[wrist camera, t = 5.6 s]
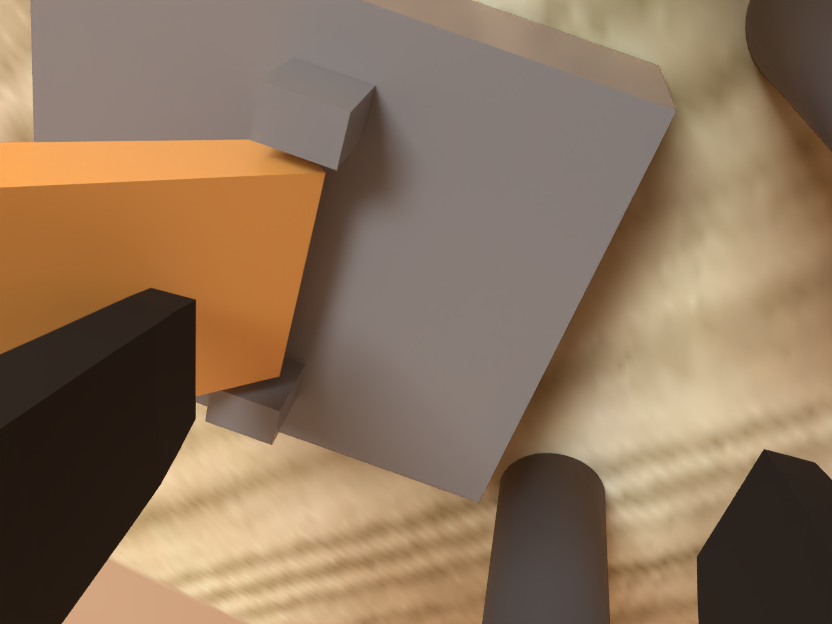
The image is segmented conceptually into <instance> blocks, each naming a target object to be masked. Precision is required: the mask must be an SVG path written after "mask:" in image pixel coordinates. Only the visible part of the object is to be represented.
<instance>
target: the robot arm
mask: <svg viewBox="0 0 832 624" xmlns="http://www.w3.org/2000/svg"><path fill="white" fill-rule="evenodd" d="M195 419H196V299H192V298H188V297H185V296H181V295H177V294H173V293H169V292H166V291H162V290H158V289H154V288H149V289H146V290H144V291H141V292H139V293H136V294H134V295H131V296H129V297H127V298H124V299H122V300H120V301H118V302H115V303H113V304H111V305H109V306H106V307H104V308H102V309H100V310H98V311H95V312H93V313H91V314H89V315H87V316H84V317H82V318H80V319H78V320H76V321H73V322H71V323H69V324H67V325H65V326H63V327H60V328H58V329H56V330H54V331H51V332H49V333H47V334H45V335H42V336H40V337H38V338H36V339H33V340H31V341H29V342H27V343H24V344H22V345H20V346H18V347H15V348H13V349H11V350H9V351H6V352H4V353H2V354H0V624H62V622H63V621H64V620H65V618H66V617H67V616H68V614H69V613H70V611H71V610H72V609H73V607H74V606H75V604H76V603H77V602H78V600H79V599H80V597H81V596H82V595H83V593H84V592H85V590H86V589H87V588H88V586H89V585H90V583H91V582H92V580H93V579H94V578H95V576H96V575H97V574H98V572H99V571H100V569H101V568H102V567H103V565H104V564H105V562H106V561H107V560H108V558H109V557H110V555H111V554H112V553H113V551H114V550H115V549H116V547H117V546H118V544H119V543H120V542H121V540H122V539H123V537H124V536H125V535H126V533H127V532H128V530H129V529H130V527H131V526H132V525H133V523H134V522H135V520H136V519H137V518H138V516H139V515H140V513H141V512H142V510H143V509H144V508H145V506H146V505H147V503H148V502H149V500H150V499H151V498H152V496H153V495H154V493H155V492H156V490H157V489H158V487H159V486H160V485H161V483H162V481H163V479H164V477H165V475H166V474H167V472H168V470H169V468H170V466H171V465H172V463H173V461H174V459H175V457H176V456H177V454H178V452H179V450H180V448H181V446H182V444H183V442H184V440H185V438H186V436H187V434H188V432H189V431H190V429H191V427H192V425H193V423H194V421H195ZM697 590H698V618H699V624H832V480H831V479H830V477H829V476H828V475H827V474H826V473H825V472H824V471H823V470H822V469H821V468H820V467H819V466H818V465H817V464H816V463H814V462H811V461H807V460H803V459H799V458H796V457H792V456H788V455H784V454H780V453H777V452H773V451H769V450H765V449H764V450H763V452H762V453H761V455H760V456H759V458H758V460H757V461H756V463H755V464H754V466H753V468H752V469H751V471H750V473H749V474H748V476H747V477H746V479H745V481H744V482H743V484H742V485H741V487H740V489H739V490H738V492H737V493H736V495H735V497H734V498H733V500H732V501H731V503H730V505H729V506H728V508H727V509H726V511H725V513H724V514H723V516H722V518H721V519H720V521H719V522H718V524H717V526H716V527H715V529H714V530H713V532H712V534H711V535H710V537H709V538H708V540H707V542H706V543H705V545H704V546H703V548H702V550H701V551H700V553H699V554H698V556H697Z"/></svg>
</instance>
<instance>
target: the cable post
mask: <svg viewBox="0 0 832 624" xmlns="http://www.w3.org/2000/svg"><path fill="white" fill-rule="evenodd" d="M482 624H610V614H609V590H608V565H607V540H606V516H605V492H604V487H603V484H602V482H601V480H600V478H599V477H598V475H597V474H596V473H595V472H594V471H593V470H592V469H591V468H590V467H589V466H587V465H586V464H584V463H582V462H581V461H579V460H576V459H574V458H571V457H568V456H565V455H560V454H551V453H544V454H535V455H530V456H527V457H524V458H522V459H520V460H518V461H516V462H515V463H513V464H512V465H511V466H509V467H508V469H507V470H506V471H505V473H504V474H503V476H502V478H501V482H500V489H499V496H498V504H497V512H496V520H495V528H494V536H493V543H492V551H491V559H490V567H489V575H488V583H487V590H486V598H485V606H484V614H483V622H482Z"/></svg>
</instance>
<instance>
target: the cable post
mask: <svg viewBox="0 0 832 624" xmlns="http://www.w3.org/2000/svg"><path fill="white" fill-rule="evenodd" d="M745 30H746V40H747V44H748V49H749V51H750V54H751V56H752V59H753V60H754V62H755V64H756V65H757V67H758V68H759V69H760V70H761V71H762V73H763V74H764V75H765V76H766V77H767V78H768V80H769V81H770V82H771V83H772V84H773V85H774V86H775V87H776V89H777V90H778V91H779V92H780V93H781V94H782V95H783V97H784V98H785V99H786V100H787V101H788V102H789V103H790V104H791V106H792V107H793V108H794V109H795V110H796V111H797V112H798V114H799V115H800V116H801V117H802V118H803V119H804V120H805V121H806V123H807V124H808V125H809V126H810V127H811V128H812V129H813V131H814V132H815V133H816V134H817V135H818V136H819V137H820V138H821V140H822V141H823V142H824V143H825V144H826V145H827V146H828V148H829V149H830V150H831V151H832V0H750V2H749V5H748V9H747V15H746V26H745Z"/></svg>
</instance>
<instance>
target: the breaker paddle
mask: <svg viewBox="0 0 832 624" xmlns="http://www.w3.org/2000/svg"><path fill="white" fill-rule="evenodd" d="M325 174H326V172H325V171H324V170H323V169H322V168H321V167H320V166H319V165H318V164H317V163H314V162H311V161H308V160H306V159H303V158H300V157H297V156H294V155H291V154H289V153H286V152H283V151H280V150H277V149H274V148H272V147H269V146H266V145H263V144H260V143H257V142H255V141H252V140H171V141H90V142H9V143H0V354H2V353H4V352H6V351H9V350H11V349H13V348H15V347H18V346H20V345H22V344H24V343H27V342H29V341H31V340H33V339H36V338H38V337H40V336H42V335H45V334H47V333H49V332H51V331H54V330H56V329H58V328H60V327H63V326H65V325H67V324H69V323H71V322H73V321H76V320H78V319H80V318H82V317H84V316H87V315H89V314H91V313H93V312H95V311H98V310H100V309H102V308H104V307H106V306H109V305H111V304H113V303H115V302H118V301H120V300H122V299H124V298H127V297H129V296H131V295H134V294H136V293H139V292H141V291H144V290H146V289H149V288H154V289H158V290H162V291H166V292H169V293H173V294H177V295H181V296H185V297H188V298H192V299H196V396H200V395H204V394H208V393H212V392H216V391H221V390H225V389H229V388H233V387H237V386H242V385H246V384H250V383H254V382H258V381H262V380H267V379H271V378H275V377H279V376H280V372H281V367H282V363H283V358H284V354H285V350H286V345H287V341H288V336H289V332H290V328H291V323H292V319H293V314H294V310H295V306H296V301H297V297H298V292H299V288H300V284H301V279H302V275H303V270H304V266H305V262H306V257H307V253H308V248H309V244H310V240H311V235H312V231H313V226H314V222H315V218H316V213H317V209H318V204H319V200H320V196H321V191H322V187H323V182H324V178H325Z"/></svg>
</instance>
